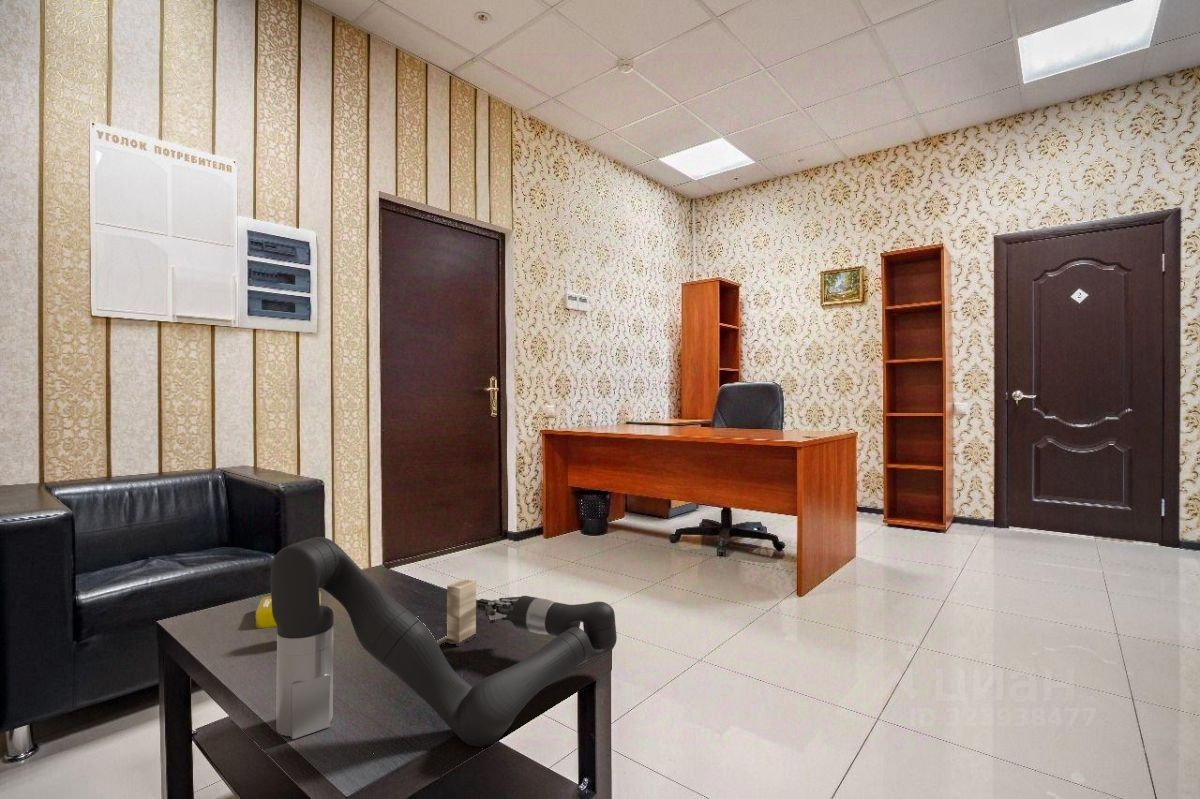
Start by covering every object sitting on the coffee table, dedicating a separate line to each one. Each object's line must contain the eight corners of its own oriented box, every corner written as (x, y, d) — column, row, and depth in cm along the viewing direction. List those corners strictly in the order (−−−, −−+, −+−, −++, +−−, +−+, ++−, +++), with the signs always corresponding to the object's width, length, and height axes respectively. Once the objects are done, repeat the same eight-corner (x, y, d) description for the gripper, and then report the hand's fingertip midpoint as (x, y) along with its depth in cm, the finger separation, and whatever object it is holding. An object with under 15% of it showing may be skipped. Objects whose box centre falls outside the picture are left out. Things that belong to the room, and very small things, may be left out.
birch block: (475, 637, 143) (476, 581, 143) (459, 646, 138) (459, 588, 138) (463, 634, 145) (463, 579, 145) (446, 643, 140) (447, 585, 140)
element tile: (261, 611, 161) (262, 594, 161) (320, 604, 167) (321, 587, 168) (254, 630, 148) (254, 612, 148) (318, 622, 154) (319, 604, 154)
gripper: (519, 641, 126) (459, 628, 134) (552, 622, 137) (495, 610, 146) (519, 607, 126) (459, 596, 134) (552, 590, 137) (495, 581, 146)
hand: (478, 603), depth 140 cm, fingers closed
